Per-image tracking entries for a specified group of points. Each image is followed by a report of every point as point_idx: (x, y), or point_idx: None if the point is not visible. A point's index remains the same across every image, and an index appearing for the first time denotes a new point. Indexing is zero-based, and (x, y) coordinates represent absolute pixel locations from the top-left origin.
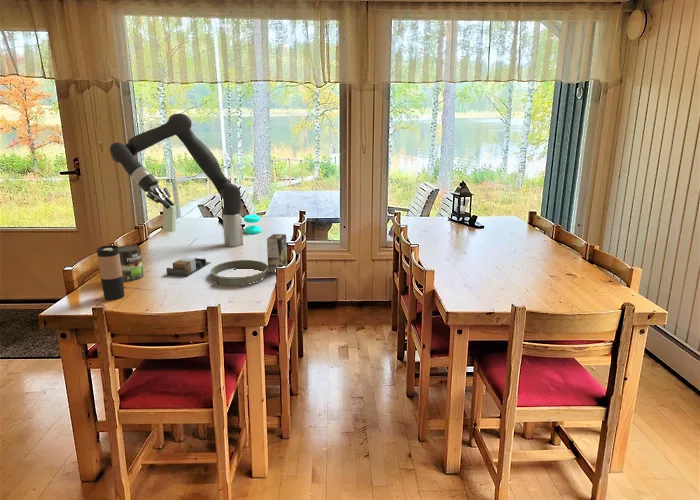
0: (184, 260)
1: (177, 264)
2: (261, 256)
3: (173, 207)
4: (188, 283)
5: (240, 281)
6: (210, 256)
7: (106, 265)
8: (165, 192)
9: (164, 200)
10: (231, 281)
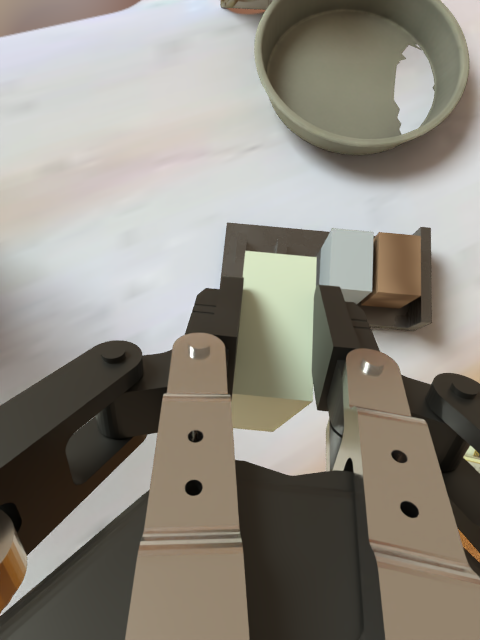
0: (371, 260)
1: (419, 272)
2: (99, 81)
3: (302, 258)
4: (455, 220)
5: (438, 39)
6: (116, 276)
7: None
8: (26, 486)
9: (359, 345)
10: (448, 63)
